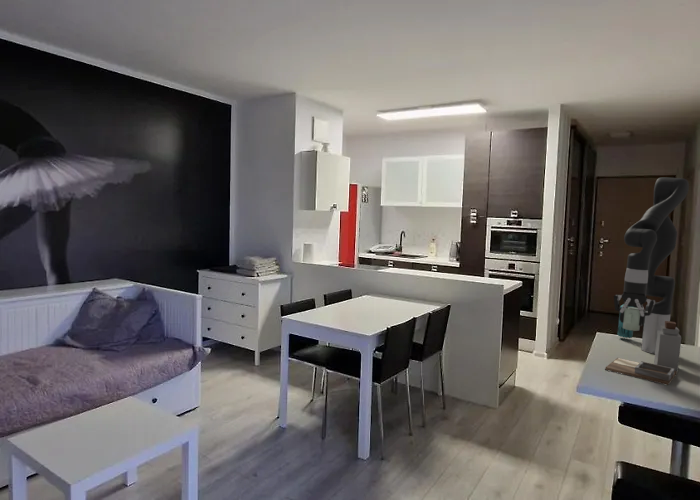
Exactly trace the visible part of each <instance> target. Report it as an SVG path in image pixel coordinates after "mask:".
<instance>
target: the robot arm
mask: <svg viewBox="0 0 700 500" xmlns="http://www.w3.org/2000/svg"><path fill="white" fill-rule="evenodd" d="M689 185H690V184H689V181H688V180H687V179H686V178H683V177H681V178H680V177H664V176H663V177H658V178H657V179H656V181H655V184H654V186H653V187H654V188H653V205H652V206H651V207H649V208H648V209H647V210H646V211H645V212H644V214H643V215H642V216H641V218H640V220H638V221H636V223H634V224H633V225H631V226H630V227H629V228H628V229H627V230H626V232H625V234H624V236H623V237H624V238H623V240H624V243H625V244H626V245H627V246H629V247H634V248H635V247H636V248H642V249H641V250H640V251H639V252H633V253H632V252H631V253H629V254H628V255H627V263H626V271H625V275H624V284H623V293H622V294H615V295H613V303H614V310H615V311H618V313H619V314H620V321H621V322H622V323H623V320H624V310H625V308H627V307H628V306H630V307H631V306H633V307H635V308H638V310H639V311H640V314H641V316H640V321H639V326H640V327H642V326H643V329H642V337H641V338H642V339H641V350H642V351H643V352H647V353H650V354H654V355H655V350H656V341H657V332H658V330H659V331H661V326H665V321H670V322H671V313H672V302H673V296H674V291H675V284H676V281H675V278H674V277H672V276H666V275H665V276H664V275H657V274H655V273H656V271H657V270H658V267H660V265H661V264H662V263H663V262H664V261H665V260H666V259H667V257H669V255H671V254H672V252H673V251H674V250H675V249H676V244H677V235H678V231H677V228H676V226H675V225H674V222H673V220H671V218H670V216H669V215H670V214H671V213H672V212H673V211H674V210H675V209H676V208H677V207H678V206H679V205H680V204H681V203H682V202H683V201H684V200H685V199H686V197H687V195H688V192H689V190H690V189H689V187H690V186H689ZM647 296H649V297H657V298H663V299H662V300H660V301H658V302H657V301H656V300H655V299H650V298H648V297H647ZM621 299H622V300H623V301H624V302H623V304H624V305H623V304H622V305H623V306H622V308H620V306H621V305H620V300H621ZM622 300H621V301H622ZM646 302H647V304H646V305H645V308H644V304H645V303H646Z"/></svg>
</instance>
